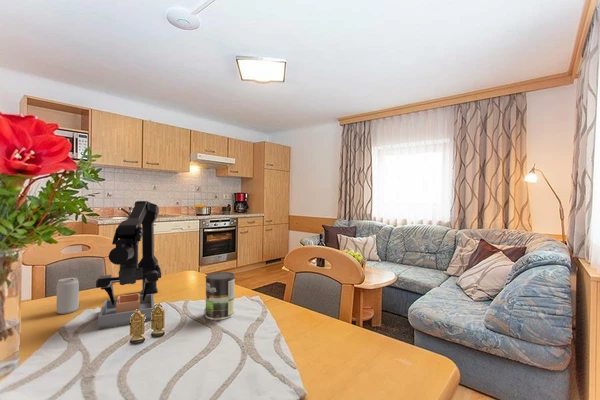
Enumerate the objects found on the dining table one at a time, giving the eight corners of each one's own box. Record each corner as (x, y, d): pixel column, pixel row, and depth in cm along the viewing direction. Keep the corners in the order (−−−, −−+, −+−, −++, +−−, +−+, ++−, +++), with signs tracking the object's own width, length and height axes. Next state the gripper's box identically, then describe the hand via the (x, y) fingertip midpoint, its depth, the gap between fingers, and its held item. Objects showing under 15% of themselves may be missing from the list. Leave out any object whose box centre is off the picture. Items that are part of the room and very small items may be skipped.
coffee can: (215, 322, 96) (215, 280, 96) (199, 314, 103) (200, 275, 103) (240, 314, 104) (240, 275, 104) (224, 307, 111) (225, 270, 111)
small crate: (118, 309, 105) (118, 296, 105) (139, 306, 109) (140, 293, 109) (115, 319, 97) (116, 304, 97) (139, 315, 100) (139, 301, 100)
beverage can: (66, 315, 103) (66, 281, 103) (51, 314, 104) (52, 280, 104) (82, 309, 109) (83, 277, 109) (69, 307, 110) (69, 276, 110)
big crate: (104, 311, 107) (104, 300, 107) (153, 303, 114) (153, 293, 114) (97, 329, 91) (97, 317, 91) (154, 319, 99) (154, 308, 99)
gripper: (93, 265, 91) (93, 315, 91) (158, 260, 100) (158, 305, 100) (98, 259, 101) (98, 304, 101) (157, 255, 110) (157, 296, 110)
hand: (128, 302), depth 103 cm, fingers open, 9 cm apart
